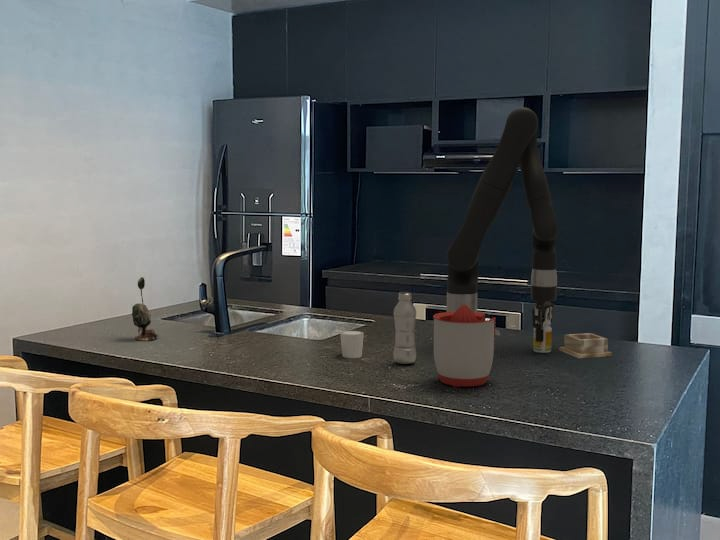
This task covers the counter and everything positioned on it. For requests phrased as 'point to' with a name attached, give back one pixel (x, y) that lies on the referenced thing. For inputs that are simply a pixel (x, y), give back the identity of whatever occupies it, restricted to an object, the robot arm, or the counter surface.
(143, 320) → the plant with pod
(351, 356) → the shot glass
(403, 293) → the plastic bottle
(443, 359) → the citrus juicer
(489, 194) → the robot arm
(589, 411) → the counter surface
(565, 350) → the open square wooden box
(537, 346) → the supplement bottle
